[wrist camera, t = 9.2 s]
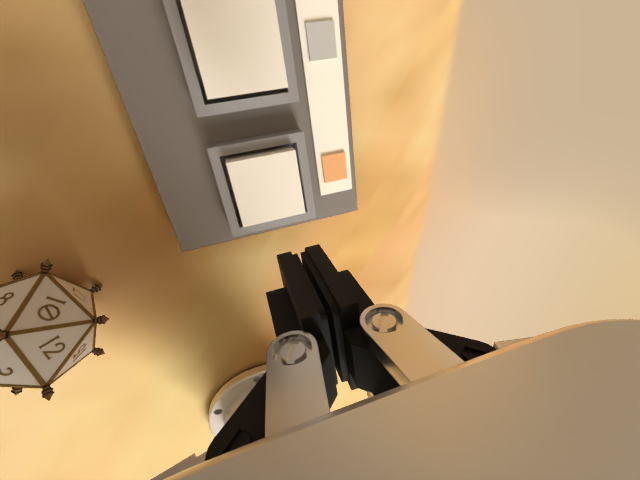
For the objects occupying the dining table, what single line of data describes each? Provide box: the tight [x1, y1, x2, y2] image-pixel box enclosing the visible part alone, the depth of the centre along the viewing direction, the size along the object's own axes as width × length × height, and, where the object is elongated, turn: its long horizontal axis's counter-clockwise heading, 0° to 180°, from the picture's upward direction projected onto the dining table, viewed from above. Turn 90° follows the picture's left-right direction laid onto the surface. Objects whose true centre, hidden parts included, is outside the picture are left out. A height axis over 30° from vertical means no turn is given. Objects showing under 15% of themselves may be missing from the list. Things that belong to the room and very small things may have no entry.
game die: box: [0, 259, 109, 401], centre depth 20 cm, size 9×8×10 cm
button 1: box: [225, 145, 305, 227], centre depth 21 cm, size 4×4×2 cm
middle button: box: [180, 0, 288, 99], centre depth 16 cm, size 4×4×2 cm
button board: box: [83, 0, 358, 252], centre depth 19 cm, size 24×14×4 cm, turn 7°
